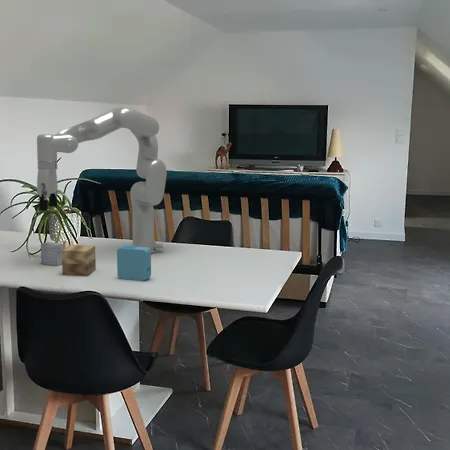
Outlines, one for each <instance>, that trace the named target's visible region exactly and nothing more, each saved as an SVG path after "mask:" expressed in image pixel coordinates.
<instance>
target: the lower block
mask: <svg viewBox="0 0 450 450" xmlns="http://www.w3.org/2000/svg"><path fill="white" fill-rule="evenodd" d="M96 263H97V261H96V257H95V259H94V260H92V261H91V262H90V263H88V264H67V263H62V264H61V266H62V269H61V270H62V276H74V277H89V276H90V275H92V274H93V272H95V271H96V270H97V269H96V267H97V265H96Z"/></svg>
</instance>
